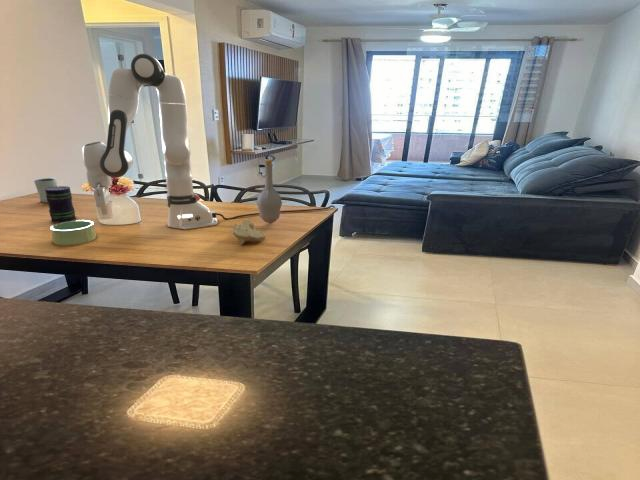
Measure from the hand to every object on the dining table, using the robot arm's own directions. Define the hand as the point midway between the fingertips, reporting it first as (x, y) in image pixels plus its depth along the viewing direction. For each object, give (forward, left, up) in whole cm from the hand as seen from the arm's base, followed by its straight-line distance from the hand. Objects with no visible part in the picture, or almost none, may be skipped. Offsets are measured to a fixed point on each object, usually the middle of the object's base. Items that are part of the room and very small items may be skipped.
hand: (106, 212), depth 167 cm
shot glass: (0, 0, -3) cm, 2 cm away
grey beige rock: (-53, +41, -7) cm, 68 cm away
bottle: (-69, +16, -7) cm, 71 cm away
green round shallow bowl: (+11, +13, -7) cm, 19 cm away
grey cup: (+36, -67, -7) cm, 76 cm away
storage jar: (+21, -21, -7) cm, 30 cm away
